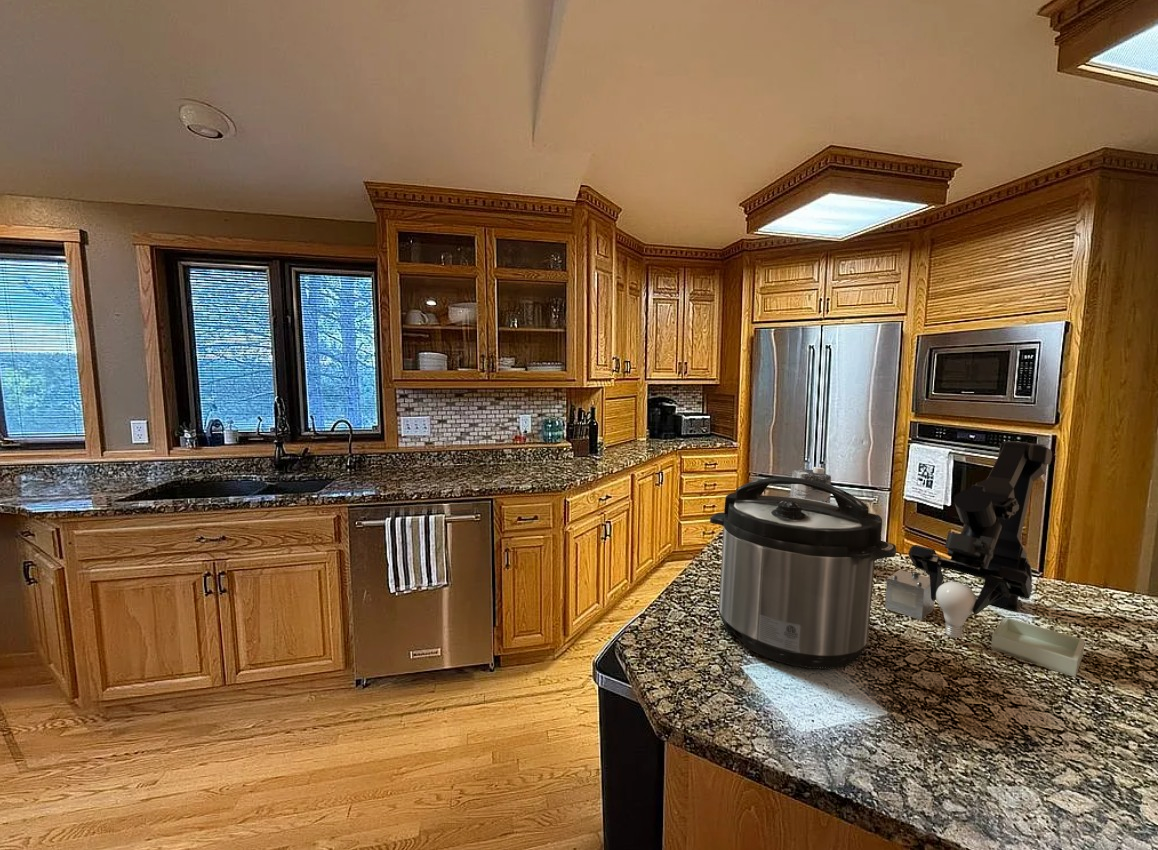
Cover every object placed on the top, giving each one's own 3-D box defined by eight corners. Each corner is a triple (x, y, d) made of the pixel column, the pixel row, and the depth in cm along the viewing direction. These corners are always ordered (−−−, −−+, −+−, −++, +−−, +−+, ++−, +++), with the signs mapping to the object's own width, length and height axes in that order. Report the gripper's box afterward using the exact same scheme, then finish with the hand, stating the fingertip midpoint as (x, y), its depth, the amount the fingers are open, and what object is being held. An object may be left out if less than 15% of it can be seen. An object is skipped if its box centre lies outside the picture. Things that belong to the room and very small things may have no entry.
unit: (897, 598, 112) (900, 566, 111) (933, 609, 106) (936, 576, 106) (884, 608, 107) (886, 574, 106) (921, 620, 101) (923, 585, 101)
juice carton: (795, 565, 132) (800, 469, 130) (785, 552, 143) (789, 463, 140) (829, 567, 131) (835, 471, 129) (816, 554, 141) (821, 464, 139)
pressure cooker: (916, 662, 86) (929, 489, 83) (793, 695, 76) (804, 501, 73) (789, 594, 114) (796, 463, 111) (688, 611, 104) (693, 468, 101)
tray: (1004, 630, 97) (1005, 616, 97) (1083, 655, 89) (1084, 640, 88) (991, 649, 90) (992, 633, 90) (1075, 677, 82) (1077, 660, 82)
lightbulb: (981, 647, 90) (986, 591, 89) (943, 643, 91) (947, 588, 90) (962, 630, 96) (966, 577, 95) (926, 627, 97) (930, 575, 96)
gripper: (914, 507, 101) (888, 568, 96) (1033, 529, 86) (1009, 604, 81) (927, 536, 106) (902, 596, 101) (1041, 562, 91) (1019, 634, 86)
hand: (952, 606), depth 92 cm, fingers closed on lightbulb, 6 cm apart
